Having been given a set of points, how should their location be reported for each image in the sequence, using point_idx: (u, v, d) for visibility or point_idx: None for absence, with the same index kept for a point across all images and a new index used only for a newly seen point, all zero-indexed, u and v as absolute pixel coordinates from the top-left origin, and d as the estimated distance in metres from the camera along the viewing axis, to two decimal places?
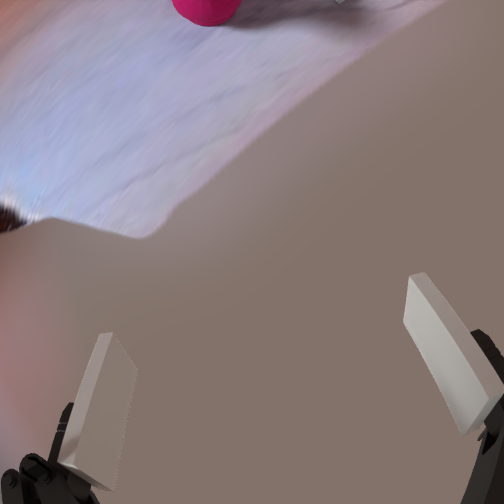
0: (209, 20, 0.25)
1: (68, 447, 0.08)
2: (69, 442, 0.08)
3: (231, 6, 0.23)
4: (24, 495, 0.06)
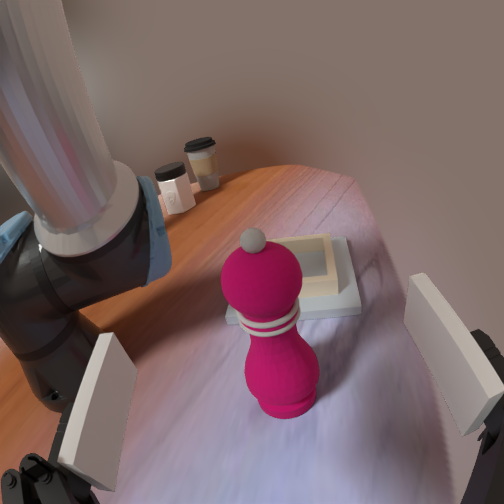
0: (311, 386, 0.27)
1: (68, 447, 0.08)
2: (69, 442, 0.08)
3: (315, 358, 0.28)
4: (24, 495, 0.06)
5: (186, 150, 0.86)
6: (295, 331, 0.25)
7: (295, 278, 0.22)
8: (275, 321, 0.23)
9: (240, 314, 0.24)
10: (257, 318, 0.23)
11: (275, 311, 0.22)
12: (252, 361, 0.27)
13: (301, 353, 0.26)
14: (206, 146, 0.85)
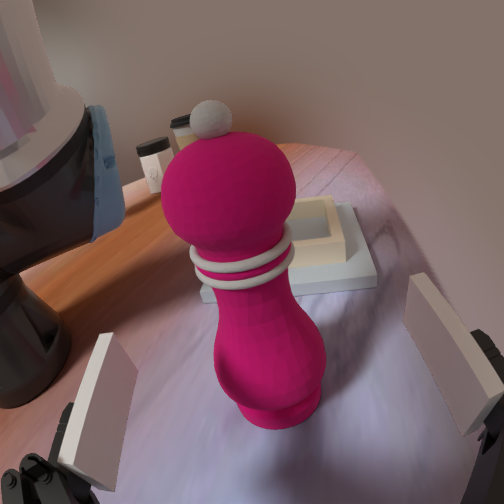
0: (314, 380, 0.17)
1: (68, 447, 0.08)
2: (69, 442, 0.08)
3: (320, 338, 0.19)
4: (24, 495, 0.06)
5: (172, 126, 0.77)
6: (287, 286, 0.16)
7: (282, 176, 0.12)
8: (250, 259, 0.13)
9: (194, 253, 0.15)
10: (219, 254, 0.13)
11: (248, 233, 0.12)
12: (221, 339, 0.17)
13: (297, 325, 0.17)
14: None
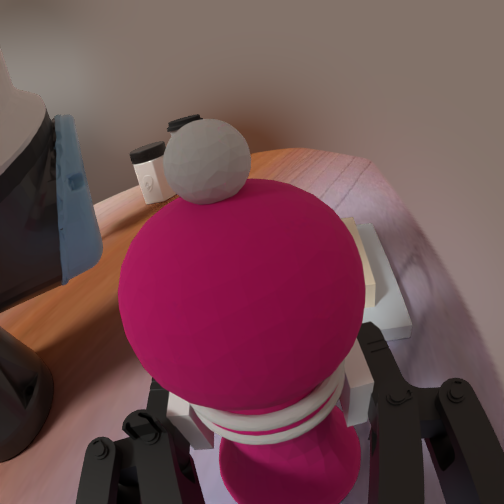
0: (346, 492, 0.11)
1: (178, 398, 0.09)
2: None
3: (357, 441, 0.12)
4: (114, 472, 0.07)
5: (169, 129, 0.71)
6: None
7: (355, 290, 0.06)
8: (282, 414, 0.07)
9: None
10: None
11: (284, 400, 0.06)
12: (230, 459, 0.11)
13: (335, 447, 0.10)
14: None
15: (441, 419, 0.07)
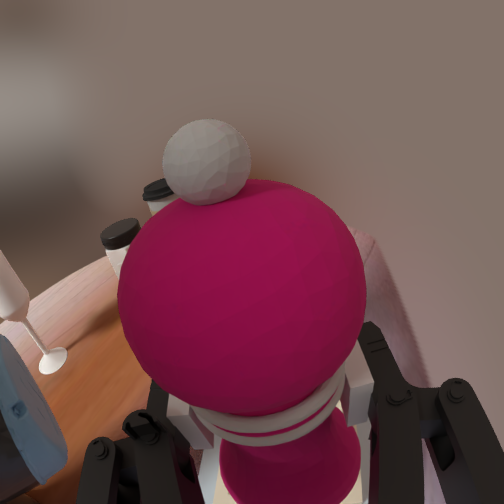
0: (347, 493, 0.11)
1: (178, 399, 0.09)
2: None
3: (357, 442, 0.12)
4: (114, 472, 0.07)
5: (144, 198, 0.64)
6: None
7: (356, 292, 0.06)
8: (282, 416, 0.07)
9: None
10: None
11: (284, 402, 0.06)
12: (230, 460, 0.11)
13: (335, 448, 0.10)
14: (170, 193, 0.63)
15: (441, 419, 0.07)
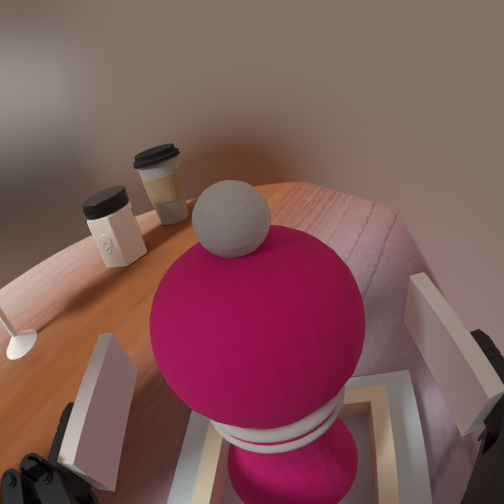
0: (344, 493, 0.12)
1: (68, 447, 0.08)
2: (69, 442, 0.08)
3: (355, 447, 0.13)
4: (24, 495, 0.06)
5: (135, 165, 0.55)
6: None
7: (356, 331, 0.07)
8: (291, 428, 0.08)
9: None
10: None
11: (295, 419, 0.07)
12: (240, 464, 0.12)
13: (334, 453, 0.11)
14: (163, 159, 0.54)
15: None
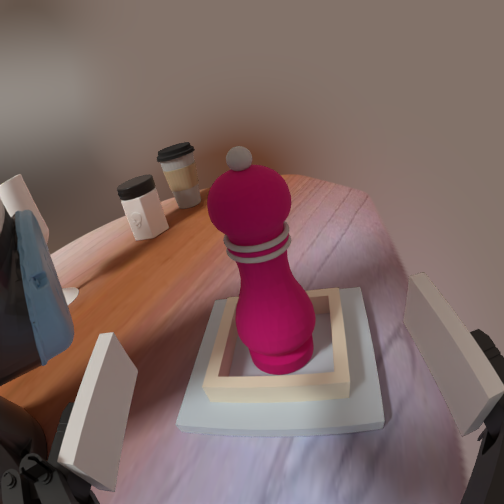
0: (306, 332, 0.26)
1: (68, 447, 0.08)
2: (69, 442, 0.08)
3: (311, 303, 0.27)
4: (24, 495, 0.06)
5: (158, 159, 0.70)
6: (286, 263, 0.24)
7: (282, 194, 0.21)
8: (263, 244, 0.22)
9: (227, 241, 0.23)
10: (244, 240, 0.22)
11: (262, 227, 0.21)
12: (242, 301, 0.26)
13: (294, 290, 0.25)
14: (182, 154, 0.68)
15: None
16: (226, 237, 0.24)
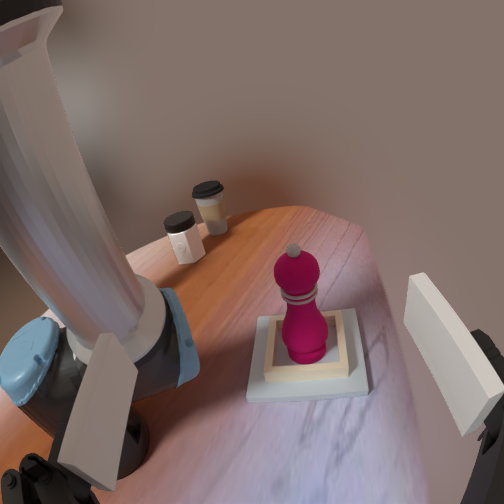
0: (323, 339, 0.45)
1: (68, 447, 0.08)
2: (69, 442, 0.08)
3: (326, 322, 0.46)
4: (24, 495, 0.06)
5: (194, 196, 0.88)
6: (314, 302, 0.43)
7: (316, 270, 0.40)
8: (305, 295, 0.41)
9: (284, 292, 0.42)
10: (295, 293, 0.41)
11: (306, 288, 0.40)
12: (288, 323, 0.45)
13: (317, 316, 0.44)
14: (214, 193, 0.87)
15: None
16: (282, 289, 0.43)
